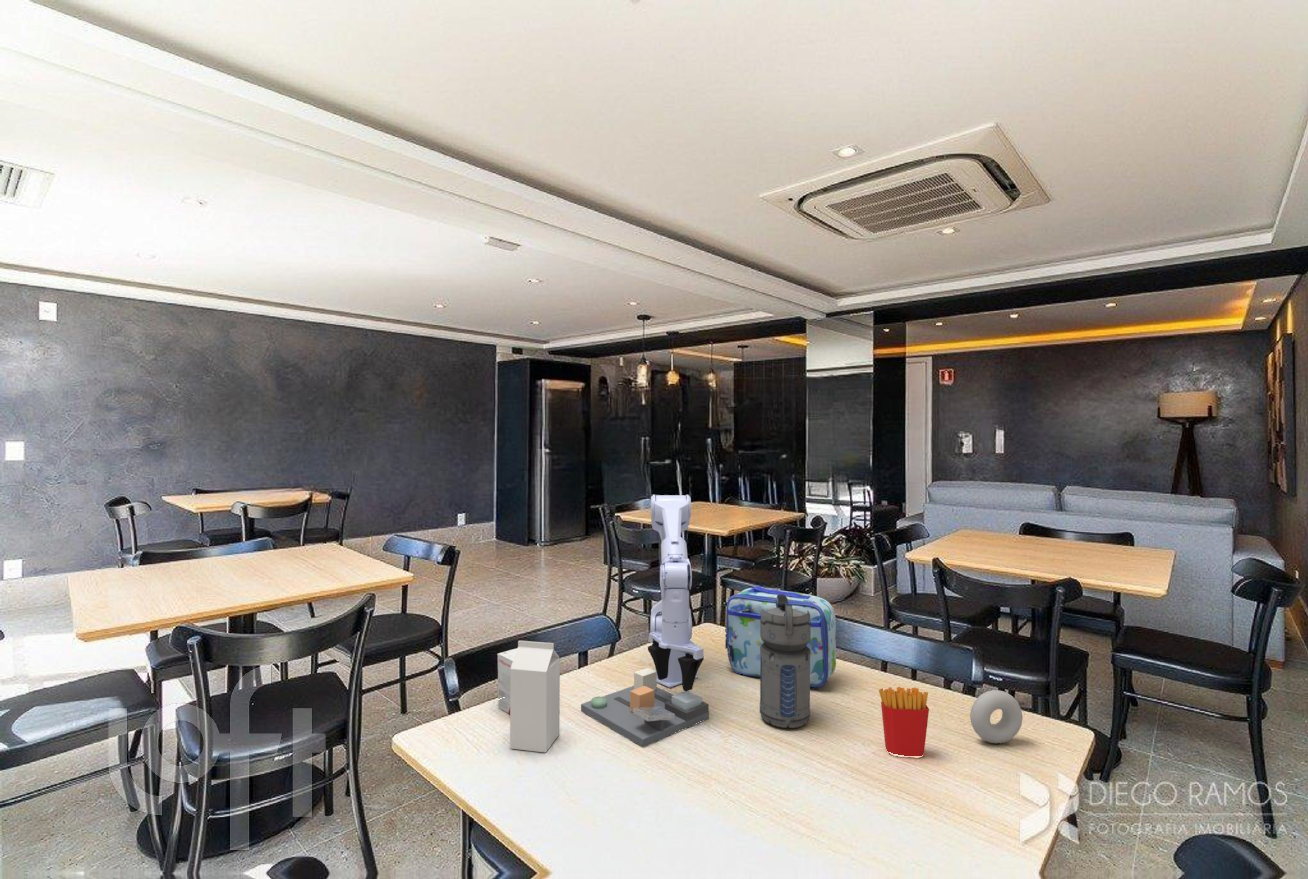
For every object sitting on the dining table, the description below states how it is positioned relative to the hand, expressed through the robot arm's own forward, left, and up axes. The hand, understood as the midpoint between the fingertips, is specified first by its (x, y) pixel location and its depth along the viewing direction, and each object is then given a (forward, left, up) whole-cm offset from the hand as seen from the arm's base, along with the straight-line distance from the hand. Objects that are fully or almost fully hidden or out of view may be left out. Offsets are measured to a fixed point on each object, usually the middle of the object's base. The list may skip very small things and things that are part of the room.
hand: (675, 684), depth 128 cm
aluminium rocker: (+9, +4, -2) cm, 10 cm away
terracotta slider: (+7, -3, -4) cm, 8 cm away
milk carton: (+28, -9, -6) cm, 30 cm away
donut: (-38, +49, -6) cm, 62 cm away
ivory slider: (0, -10, -4) cm, 10 cm away
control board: (+5, -4, -6) cm, 9 cm away
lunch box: (-33, +2, -6) cm, 33 cm away
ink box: (+24, -23, -6) cm, 34 cm away
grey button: (0, +3, -3) cm, 5 cm away
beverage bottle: (-16, +16, -6) cm, 23 cm away
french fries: (-21, +39, -6) cm, 45 cm away
